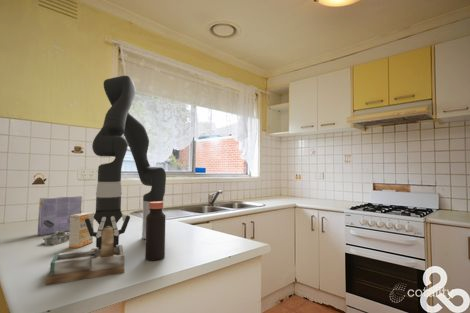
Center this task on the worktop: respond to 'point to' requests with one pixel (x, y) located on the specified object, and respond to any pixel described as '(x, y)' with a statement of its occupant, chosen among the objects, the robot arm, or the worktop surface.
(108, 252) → the keyhole peg
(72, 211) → the cake pan box
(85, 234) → the supplement box
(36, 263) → the worktop surface
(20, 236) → the worktop surface
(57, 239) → the egg carton
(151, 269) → the worktop surface
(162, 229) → the bottle
